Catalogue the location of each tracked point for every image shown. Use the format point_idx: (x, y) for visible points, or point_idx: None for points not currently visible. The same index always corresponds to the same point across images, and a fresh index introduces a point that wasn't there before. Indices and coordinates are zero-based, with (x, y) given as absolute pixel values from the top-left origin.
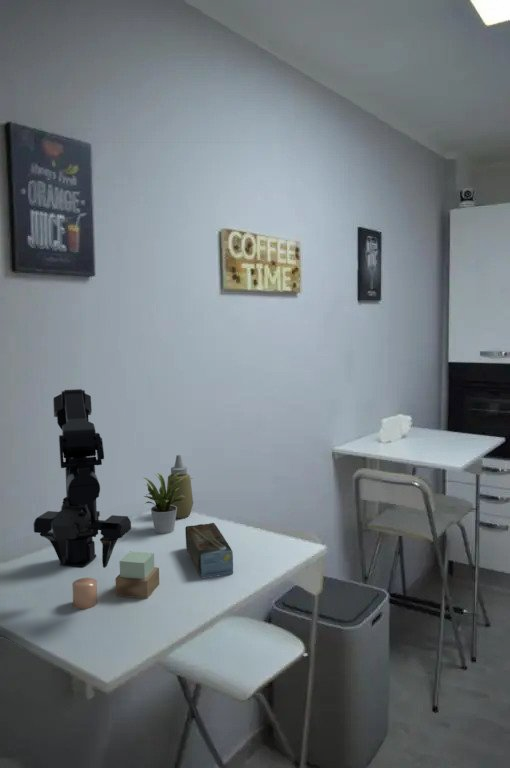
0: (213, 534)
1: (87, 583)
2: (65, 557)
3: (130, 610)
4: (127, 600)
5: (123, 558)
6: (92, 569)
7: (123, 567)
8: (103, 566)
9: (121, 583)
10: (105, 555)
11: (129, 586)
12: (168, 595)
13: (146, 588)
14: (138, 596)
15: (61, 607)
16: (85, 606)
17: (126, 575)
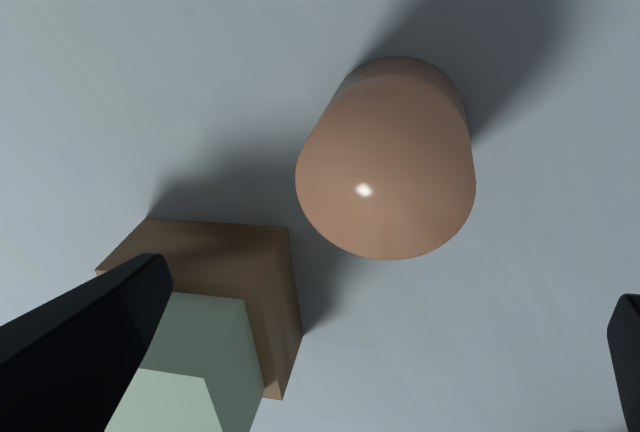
0: None
1: (354, 183)
2: (621, 383)
3: (132, 101)
4: (209, 191)
5: (206, 404)
6: (514, 419)
7: (197, 341)
8: (147, 256)
9: (235, 265)
10: (12, 328)
11: (199, 254)
12: (93, 247)
13: (121, 245)
14: (180, 223)
15: (529, 51)
16: (359, 71)
17: (203, 304)
